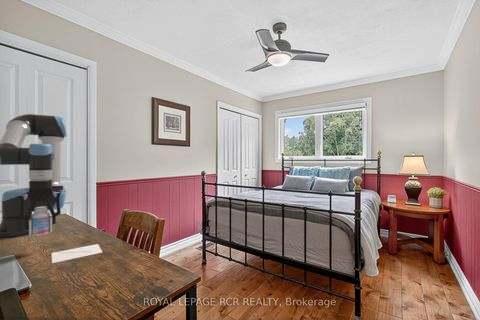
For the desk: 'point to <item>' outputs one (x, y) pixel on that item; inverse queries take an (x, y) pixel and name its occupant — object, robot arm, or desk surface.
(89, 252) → the paper
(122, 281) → the desk surface
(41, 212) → the pill bottle
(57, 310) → the desk surface
